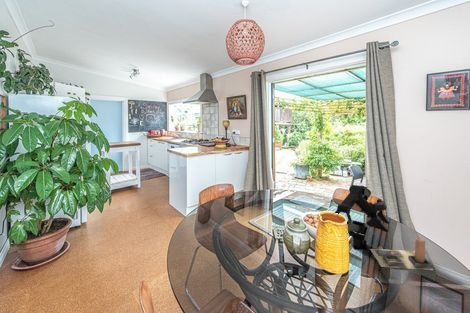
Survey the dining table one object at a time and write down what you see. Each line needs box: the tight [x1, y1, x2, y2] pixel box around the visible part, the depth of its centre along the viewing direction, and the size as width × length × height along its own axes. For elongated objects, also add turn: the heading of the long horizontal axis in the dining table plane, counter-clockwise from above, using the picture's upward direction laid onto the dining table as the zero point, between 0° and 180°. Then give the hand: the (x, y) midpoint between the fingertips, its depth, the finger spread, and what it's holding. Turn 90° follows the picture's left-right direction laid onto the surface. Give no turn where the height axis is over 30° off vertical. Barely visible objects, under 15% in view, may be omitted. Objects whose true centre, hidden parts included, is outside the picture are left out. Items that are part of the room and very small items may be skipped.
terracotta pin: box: [414, 238, 426, 264], centre depth 98 cm, size 4×4×12 cm
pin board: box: [369, 248, 434, 271], centre depth 104 cm, size 21×14×3 cm
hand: (388, 227), depth 110 cm, fingers open, 9 cm apart
